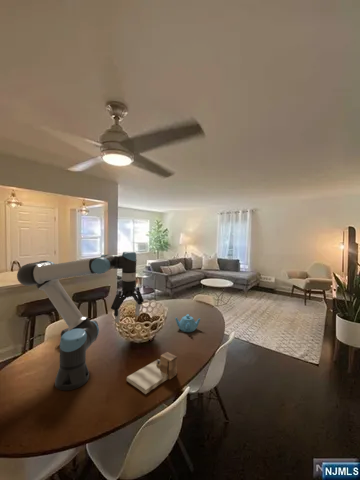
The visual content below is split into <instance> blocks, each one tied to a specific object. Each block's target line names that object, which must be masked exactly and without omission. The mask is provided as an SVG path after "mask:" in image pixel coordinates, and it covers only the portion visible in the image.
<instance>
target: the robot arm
mask: <svg viewBox="0 0 360 480" xmlns="http://www.w3.org/2000/svg"><path fill="white" fill-rule="evenodd" d="M137 261H138V260H137V253H136V252H135V251H123V252H122V254H101V255H100V257H94V258H86V259H79V260H75V261H74V260H73V261H68V262H59V263H55V262H53V261H49V260H41V261H37V262H36V261H35V262H30V263H26V264H24V265H22V266H20V268H19V269H18V271H17V273H16V279H17V281H18V282H19V283H20V284H21V285H22V286H24V287H25V286H26V287H33V286H36V287H37V289H38V290H39V291H43V293H45V295H46V296H47V298H48V300H49V301H50V302H51V304H52V305H53V307H54V308H55V309H56V311H57V313H58V314H59V315H60V317H61V318H62V319H63V321H64V322H65V324H66V326H67V328H68V331H67V332H65V333H64V334H63V335H62V336H61V335H60V340H59V368H58V370H57V373H56V377H55V380H54V381H55V382H54V387H55V388H56V389H57V390H60V391H72V390H76V389H78V388H80V387H82V386H84V385H86V383H88V381H89V379H90V371H89V368H88V365H87V362H86V361H87V359H86V358H87V350H88V349H89V348H90V346H91V345H92V344H93V343H95V341H96V340H97V338H98V336H99V333H100V327H99V325H97V323H98V322H97V323H96V322H94V321H95V320H92V319H91V320H90V319H89V317H88V316H84V315H83V314H82V312H81V311H80V310H79V308H78V307H77V305H76V304H75V302H74V301H73V300H72V298H71V296H70V295H69V294H68V293H67V291H66V289H65V288H64V287H63V284H62V283H61V282H60V279H68V278H74V277H81V276H86V275H87V276H88V275H93V274H98V275H100V274H105V273H107V272H108V271H110V270H113V269H116V270H117V269H118V270H121V290H119V289H117V290H116V295H115V296H114V299H113V302H112V303H111V307H110V309H111V310H114V311H113V312H114V313H113V314H114V317H115V319H114V321H115V323H120V322H121V321H120V316H121V315H120V313H121V311H120V308H121V306H122V304H124V301H125V300H126V299H128V298H132V299H133V300H134V301H135V302H136V303H135V313H134V314H135V316H136V317H137V316H138V317H140V315H141V314H140V311H141V305H142V304H143V303H144V298H143V296H142V293H141V290H140V289H141V288H140V286H137V285H136V284H137V281H136V280H137Z"/></svg>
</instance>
